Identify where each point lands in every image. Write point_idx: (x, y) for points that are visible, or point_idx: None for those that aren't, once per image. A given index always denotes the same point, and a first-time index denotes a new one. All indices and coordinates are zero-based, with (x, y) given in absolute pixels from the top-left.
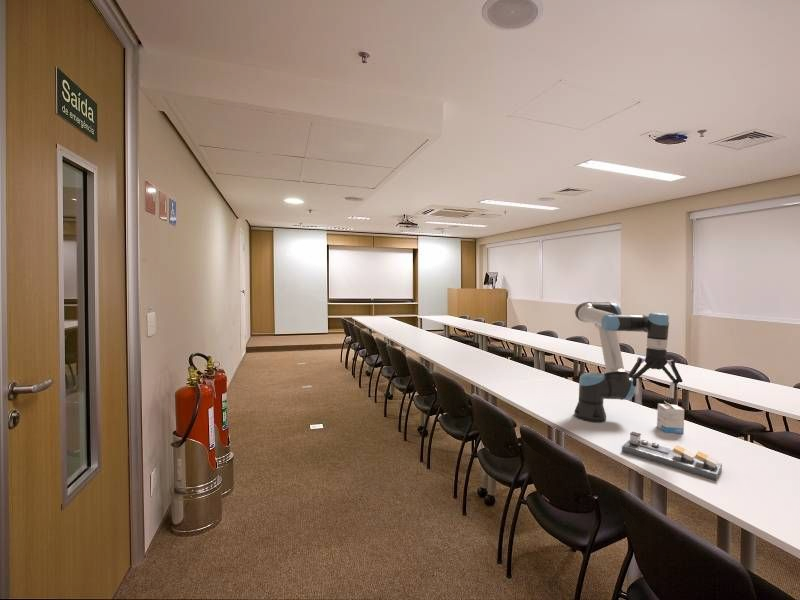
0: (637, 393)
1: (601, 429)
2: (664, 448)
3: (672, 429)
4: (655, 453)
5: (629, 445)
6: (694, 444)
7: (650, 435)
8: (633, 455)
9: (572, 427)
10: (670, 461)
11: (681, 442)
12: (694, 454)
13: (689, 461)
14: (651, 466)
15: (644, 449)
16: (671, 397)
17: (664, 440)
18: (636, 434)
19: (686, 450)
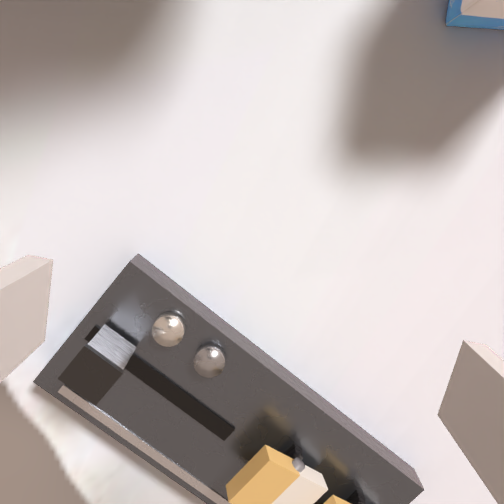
0: (32, 344)
1: (33, 50)
2: (245, 376)
3: (501, 23)
4: (166, 439)
5: None
6: (498, 205)
7: (313, 104)
8: None
9: None
10: (200, 494)
11: (440, 187)
12: (320, 494)
13: None
14: (124, 484)
15: (133, 403)
16: (440, 415)
17: (355, 174)
18: (90, 388)
19: (296, 484)
